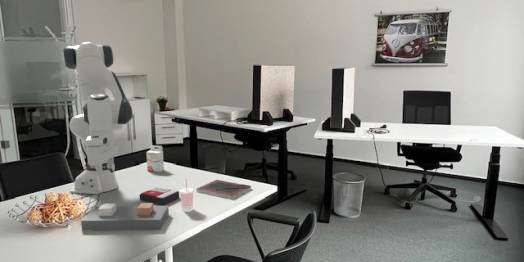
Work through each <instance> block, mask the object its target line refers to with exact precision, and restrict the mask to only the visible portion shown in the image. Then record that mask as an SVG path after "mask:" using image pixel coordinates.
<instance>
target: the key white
mask: <svg viewBox="0 0 524 262" xmlns="http://www.w3.org/2000/svg"><path fill="white" fill-rule="evenodd" d="M116 206H117V203H103V204H102V205H100V206H99V207H100V208H99V216H113V215H114V214H115V213H116Z"/></svg>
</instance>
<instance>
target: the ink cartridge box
mask: <svg viewBox="0 0 524 262" xmlns="http://www.w3.org/2000/svg"><path fill="white" fill-rule="evenodd" d="M149 147H150V148H149V150H148V151H146V168H147V169H146V170H147V172H154V173H155V172H157V173H161V172H162V171H164V169H165V167H164V165H165V164H164V151H163V150H164V149H163V146H162V145H152V144H151V145H150V146H149Z"/></svg>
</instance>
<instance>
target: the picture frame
mask: <svg viewBox="0 0 524 262" xmlns="http://www.w3.org/2000/svg"><path fill="white" fill-rule="evenodd" d="M251 190H252V185H249V184H248V185H247V184H243V183H242V184H241V183H236V182H233V181H226V180H221V179H214V180H213V181H210V182H208V183H205V184H204V185H202V186H200V187H197V188H196V192H197V193H201V194H206V195H209V196H214V197H219V198H224V199H228V200H234V199H236V198H237V197H240V196H242V195H243V194H244V193H248V191H251Z"/></svg>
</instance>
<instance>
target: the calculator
mask: <svg viewBox="0 0 524 262" xmlns="http://www.w3.org/2000/svg"><path fill="white" fill-rule="evenodd" d="M179 199H180V191H178V190H175V189H174V190H172V189H169V188H164V187H153V188H150V189H148V190H145V191H143V192H141V193H140V194H139V201H142V202H145V203H153V204H155V205H157V206H167V205H168V204H170V203H172V202H174V201H177V200H179Z"/></svg>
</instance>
